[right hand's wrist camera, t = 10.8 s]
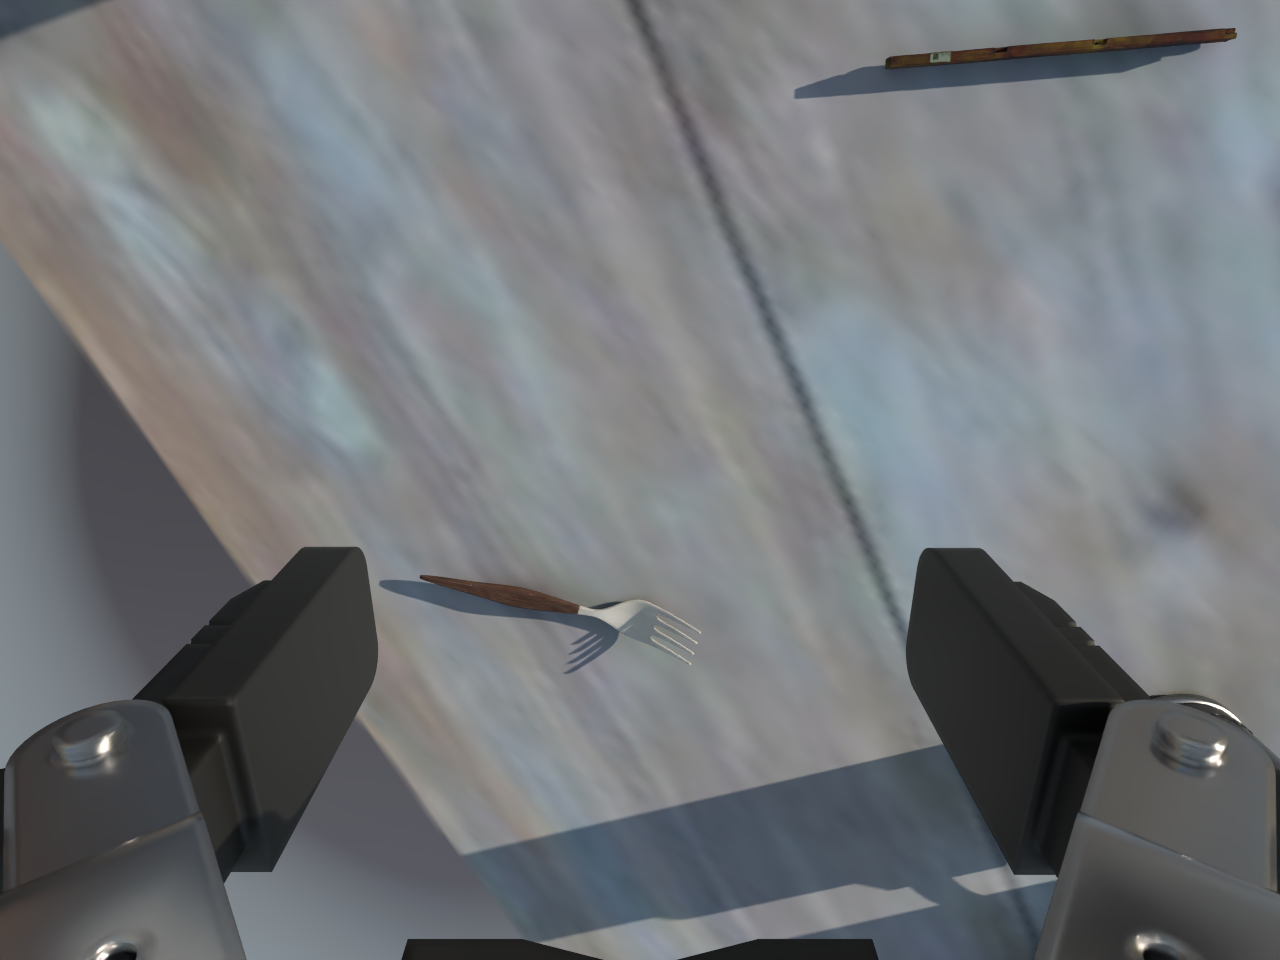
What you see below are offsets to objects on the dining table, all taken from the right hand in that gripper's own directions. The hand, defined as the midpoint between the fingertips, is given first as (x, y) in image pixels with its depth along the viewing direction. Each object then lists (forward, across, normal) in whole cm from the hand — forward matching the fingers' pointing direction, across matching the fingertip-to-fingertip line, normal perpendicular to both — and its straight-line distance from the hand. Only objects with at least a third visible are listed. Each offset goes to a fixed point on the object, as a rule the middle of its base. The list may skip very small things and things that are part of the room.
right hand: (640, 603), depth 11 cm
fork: (+29, +5, +17) cm, 34 cm away
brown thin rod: (+29, -18, -11) cm, 36 cm away
